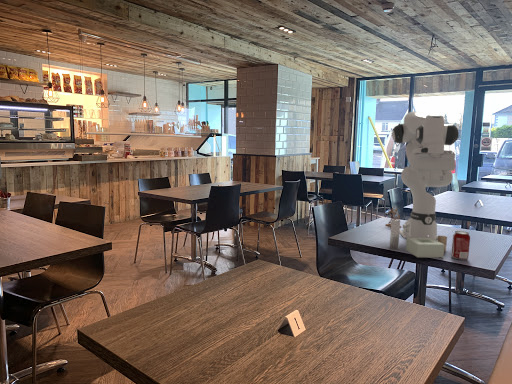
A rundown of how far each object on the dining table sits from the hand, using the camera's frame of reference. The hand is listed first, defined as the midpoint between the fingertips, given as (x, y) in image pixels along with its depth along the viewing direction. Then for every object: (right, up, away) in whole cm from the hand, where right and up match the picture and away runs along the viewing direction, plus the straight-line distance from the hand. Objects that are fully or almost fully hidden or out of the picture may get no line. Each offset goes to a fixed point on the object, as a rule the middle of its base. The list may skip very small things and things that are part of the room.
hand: (432, 180), depth 181 cm
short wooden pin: (+7, -34, +7) cm, 35 cm away
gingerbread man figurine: (+2, -27, +58) cm, 64 cm away
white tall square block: (-15, -33, +9) cm, 37 cm away
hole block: (-3, -34, +1) cm, 34 cm away
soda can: (+10, -35, -5) cm, 37 cm away
